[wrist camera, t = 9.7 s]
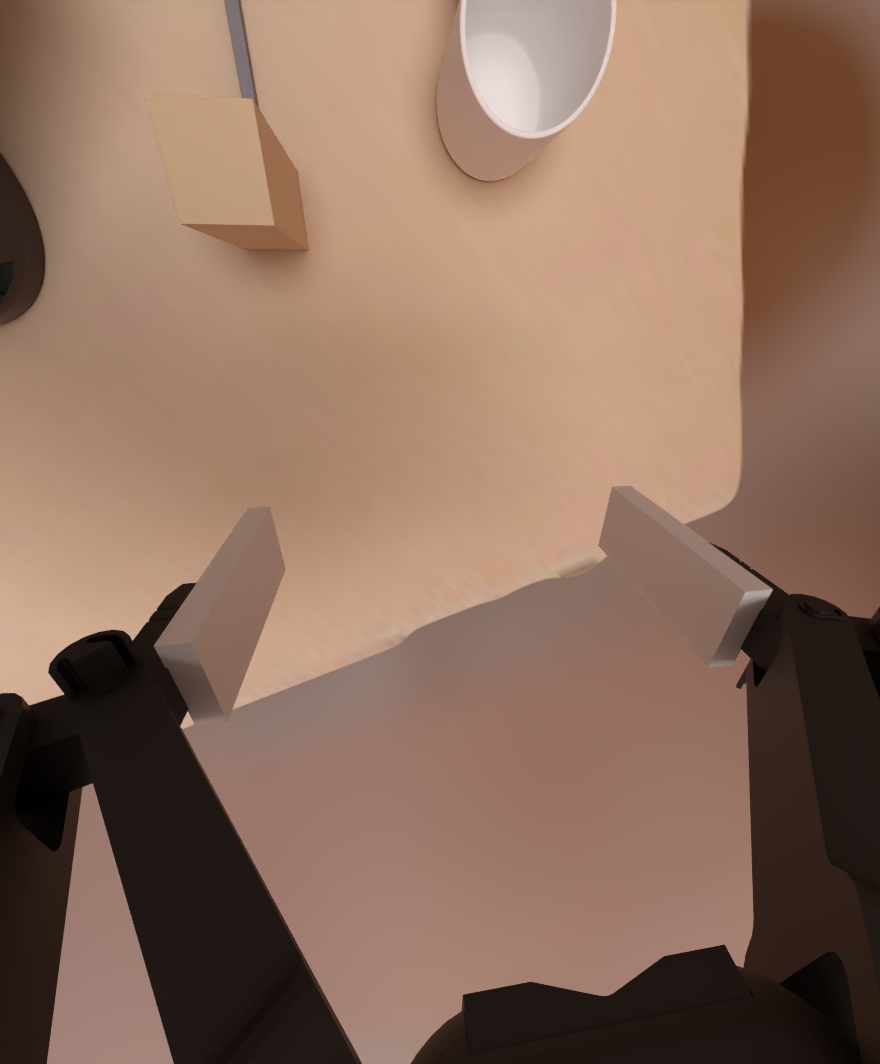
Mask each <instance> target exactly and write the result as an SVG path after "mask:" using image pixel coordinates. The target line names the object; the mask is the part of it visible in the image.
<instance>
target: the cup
mask: <svg viewBox="0 0 880 1064" xmlns="http://www.w3.org/2000/svg"><path fill="white" fill-rule="evenodd" d="M615 23H616V0H459V3H458V7H457V10H456V14H455V18H454V22H453V25H452V29H451V33H450V36H449V40H448V44H447V47H446V51H445V55H444V58H443V62H442V66H441V70H440V75H439V80H438V87H437V117H438V124H439V128H440V132H441V136H442V139H443V142H444V144H445V146H446V149H447V151H448V152H449V154H450V156H451V157H452V159H453V160H454V162H455V163H456V164H457V165H458V166H459V167H460V168H461V169H462V170H463V171H464V172H465V173H467V174H468V175H470V176H472V177H474V178H476V179H479V180H483V181H497V180H501V179H504V178H507V177H509V176H511V175H513V174H514V173H516V172H517V171H519V170H520V169H521V168H522V167H524V166H525V165H526V164H527V163H528V162H529V161H530V160H531V159H533V158H534V157H535V156H536V155H537V154H538V153H539V152H540V151H541V150H542V149H543V148H545V147H546V146H547V145H548V144H549V143H550V142H551V141H552V140H553V139H554V138H555V137H557V136H558V135H559V134H560V133H561V132H562V131H563V130H564V129H565V128H566V127H567V126H568V125H570V124H571V123H572V122H573V121H574V120H575V119H576V118H577V117H578V116H579V115H580V114H581V112H582V111H583V110H584V109H585V107H586V106H587V105H588V103H589V102H590V100H591V99H592V97H593V95H594V94H595V92H596V90H597V88H598V86H599V84H600V82H601V79H602V77H603V75H604V72H605V69H606V66H607V63H608V60H609V56H610V53H611V48H612V44H613V38H614V32H615Z"/></svg>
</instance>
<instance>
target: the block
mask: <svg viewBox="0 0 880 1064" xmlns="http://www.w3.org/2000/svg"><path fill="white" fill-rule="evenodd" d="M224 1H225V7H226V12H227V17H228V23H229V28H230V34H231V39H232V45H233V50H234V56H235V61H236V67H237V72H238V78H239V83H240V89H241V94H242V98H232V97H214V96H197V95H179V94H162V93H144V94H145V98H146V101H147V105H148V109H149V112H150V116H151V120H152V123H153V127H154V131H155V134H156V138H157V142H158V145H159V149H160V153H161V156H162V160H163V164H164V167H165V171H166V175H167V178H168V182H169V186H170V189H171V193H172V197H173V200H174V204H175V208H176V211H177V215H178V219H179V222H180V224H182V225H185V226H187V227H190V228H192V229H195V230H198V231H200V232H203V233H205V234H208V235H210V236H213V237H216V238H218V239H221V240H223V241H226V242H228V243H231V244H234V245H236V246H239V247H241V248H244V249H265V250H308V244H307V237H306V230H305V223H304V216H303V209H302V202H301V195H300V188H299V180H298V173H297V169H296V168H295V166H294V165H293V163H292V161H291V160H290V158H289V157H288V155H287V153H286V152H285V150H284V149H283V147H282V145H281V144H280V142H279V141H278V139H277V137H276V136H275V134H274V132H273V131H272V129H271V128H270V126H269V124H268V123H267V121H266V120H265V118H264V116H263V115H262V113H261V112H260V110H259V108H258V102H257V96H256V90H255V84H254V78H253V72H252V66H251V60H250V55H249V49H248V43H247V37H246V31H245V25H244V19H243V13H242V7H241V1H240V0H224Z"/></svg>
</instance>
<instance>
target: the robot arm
mask: <svg viewBox="0 0 880 1064" xmlns="http://www.w3.org/2000/svg"><path fill="white" fill-rule="evenodd" d="M43 269H44V255H43V246H42V240H41V236H40V232H39V228H38V225H37V222H36V218H35V216H34V213H33V211H32V208H31V206H30V204H29V201H28V199H27V197H26V195H25V193H24V191H23V189H22V187H21V186H20V184H19V182H18V180H17V179H16V177H15V175H14V174H13V172H12V171H11V169H10V168H9V166H8V165H7V163H6V162H5V160H4V159H3V157H2V156H1V155H0V325H1V324H4V323H7V322H9V321H11V320H13V319H15V318H17V317H18V316H20V315H21V314H22V313H23V312H25V311H26V310H27V309H28V308H29V306H30V305H31V304H32V302H33V301H34V299H35V298H36V296H37V294H38V291H39V289H40V286H41V282H42V277H43ZM598 546H599V547H600V548H601V549H602V550H603V551H604V552H605V553H606V555H607V556H608V557H609V558H610V559H611V560H612V561H613V562H614V563H615V564H616V565H617V567H618V568H619V569H620V570H621V571H622V572H623V573H624V575H625V576H626V577H627V578H628V579H629V580H630V581H631V582H632V583H633V585H634V586H635V587H636V588H637V589H638V590H639V591H640V592H641V593H642V594H643V596H644V597H645V598H646V599H647V600H648V601H649V602H650V604H651V605H652V606H653V607H654V608H655V609H656V610H657V611H658V612H659V614H660V615H661V616H662V617H663V618H664V619H665V620H666V621H667V622H668V623H669V625H670V626H671V627H672V628H673V629H674V630H675V631H676V632H677V634H678V635H679V636H680V637H681V638H682V639H683V640H684V641H685V643H686V644H687V645H688V646H689V647H690V648H691V649H692V650H693V651H694V652H695V654H696V655H697V656H698V657H699V658H700V659H701V660H702V661H703V663H704V664H705V665H706V666H707V667H708V668H710V667H719V666H728V665H733V663H734V661H735V660H736V658H737V656H738V654H739V652H740V650H741V649H742V650H743V651H744V652H745V653H746V654H747V655H748V656H749V657H750V658H751V659H750V661H749V663H748V665H747V667H746V668H745V670H744V672H743V674H742V676H741V677H740V679H739V681H738V683H737V686H736V687H737V688H739V689H741V687H742V685H743V684H745V683H747V714H748V715H747V716H748V748H749V777H750V778H749V781H750V814H751V847H752V876H753V877H752V879H753V912H754V922H753V932H752V937H751V940H750V943H749V946H748V949H747V952H746V956H745V962H744V968H742V967H739V966H736V965H735V963H734V961H733V960H732V957H731V956H730V954H729V952H728V950H727V948H726V946H725V945H720V946H715V947H711V948H705V949H700V950H695V951H690V952H684V953H679V954H673V955H668V956H664V957H663V958H661V959H660V960H659V961H657V962H656V963H654V964H653V965H652V966H650V967H649V968H648V969H646V970H645V971H643V972H642V973H641V974H640V975H638V976H637V977H635V978H634V979H632V980H631V981H630V982H628V983H627V984H626V985H624V986H623V987H622V988H620V989H619V990H617V991H616V992H615V993H614V994H611V995H609V996H598V995H593V994H588V993H583V992H578V991H573V990H568V989H563V988H558V987H553V986H549V985H544V984H539V983H534V982H528V983H522V984H517V985H512V986H506V987H501V988H496V989H491V990H485V991H480V992H475V993H470V994H465V995H463V1001H462V1011H461V1012H460V1013H458V1014H457V1015H455V1016H454V1017H453V1018H451V1019H450V1020H448V1021H447V1022H446V1023H444V1024H443V1025H442V1026H441V1027H440V1028H439V1029H438V1030H437V1031H436V1032H435V1033H434V1034H433V1035H432V1036H431V1037H430V1038H429V1039H428V1041H427V1042H426V1043H425V1044H424V1046H423V1047H422V1048H421V1049H420V1051H419V1052H418V1053H417V1055H416V1056H415V1058H414V1059H413V1061H412V1062H411V1064H880V607H879V608H878V610H877V611H876V613H875V614H874V615H873V617H872V618H871V619H868V618H860V617H852V616H848V615H847V614H846V613H845V612H844V611H842V610H841V609H840V608H838V607H837V606H835V605H833V604H831V603H829V602H827V601H825V600H822V599H819V598H816V597H813V596H809V595H803V594H791V595H789V594H787V593H786V592H784V591H783V590H782V589H780V588H779V587H777V586H776V585H775V584H773V583H772V582H770V581H769V580H768V579H766V578H765V577H763V576H762V575H760V574H759V573H758V572H756V571H755V570H753V569H750V567H749V566H748V565H746V564H745V563H744V562H740V560H739V559H738V558H737V557H735V556H734V555H732V554H731V553H730V552H728V551H726V550H724V549H722V548H720V547H718V546H716V545H714V544H711V543H709V542H707V541H706V540H704V539H703V538H701V537H700V536H699V535H698V534H696V533H695V532H693V531H692V530H690V529H689V528H688V527H686V526H685V525H684V524H682V523H681V522H680V521H678V520H677V519H675V518H674V517H673V516H671V515H670V514H669V513H667V512H666V511H664V510H663V509H662V508H660V507H659V506H658V505H656V504H655V503H653V502H652V501H651V500H649V499H648V498H647V497H645V496H644V495H642V494H641V493H640V492H638V491H637V490H635V489H634V488H633V487H631V486H617V487H612V489H611V494H610V498H609V502H608V507H607V511H606V515H605V520H604V524H603V528H602V532H601V537H600V541H599V545H598ZM284 572H285V565H284V561H283V557H282V553H281V549H280V545H279V541H278V537H277V533H276V529H275V525H274V521H273V518H272V514H271V510H270V507H261V508H248V509H247V510H246V512H245V513H244V515H243V516H242V518H241V519H240V520H239V522H238V523H237V525H236V526H235V528H234V529H233V531H232V532H231V534H230V535H229V537H228V538H227V539H226V541H225V542H224V544H223V545H222V547H221V548H220V550H219V551H218V553H217V554H216V556H215V557H214V558H213V560H212V561H211V563H210V564H209V566H208V567H207V569H206V570H205V572H204V573H203V575H202V576H201V577H200V579H199V580H198V582H197V583H189V584H182V585H181V586H179V587H178V588H177V589H175V590H174V591H173V592H171V593H170V594H169V595H167V596H166V598H165V599H164V600H163V602H162V603H161V604H160V606H159V607H158V608H157V611H155V612H154V614H153V615H152V616H151V617H150V619H149V622H147V623H146V624H145V625H144V627H143V628H142V629H141V631H140V632H139V633H138V635H137V636H136V637H135V639H134V640H133V641H132V640H131V638H130V636H129V635H128V634H127V633H125V632H124V631H119V630H109V631H102V632H98V633H95V634H92V635H89V636H86V637H84V638H82V639H80V640H78V641H76V642H74V643H72V644H70V645H69V646H68V647H66V648H65V649H64V650H62V651H61V652H60V653H59V654H57V656H56V657H55V658H54V659H53V661H52V662H51V663H50V666H49V672H48V673H49V674H50V675H51V677H52V678H53V679H54V681H55V682H56V683H57V685H58V686H59V687H60V689H61V690H62V691H63V693H64V694H65V695H62V696H58V697H55V698H52V699H49V700H46V701H42V702H39V703H36V704H33V705H30V706H29V705H28V704H27V703H26V702H25V700H24V699H23V698H22V697H20V696H19V695H17V694H15V693H2V694H0V1064H47V1056H48V1049H49V1042H50V1034H51V1026H52V1018H53V1010H54V1003H55V995H56V986H57V980H58V972H59V964H60V956H61V949H62V941H63V933H64V925H65V917H66V909H67V902H68V894H69V886H70V879H71V871H72V862H73V856H74V848H75V840H76V832H77V824H78V817H79V809H80V802H81V794H82V787H84V786H87V785H89V784H92V783H93V784H94V788H95V792H96V795H97V799H98V802H99V805H100V809H101V812H102V816H103V819H104V823H105V826H106V830H107V833H108V837H109V840H110V843H111V847H112V851H113V854H114V857H115V861H116V864H117V868H118V871H119V875H120V878H121V881H122V885H123V889H124V892H125V896H126V899H127V903H128V906H129V910H130V913H131V916H132V920H133V923H134V927H135V930H136V934H137V937H138V940H139V944H140V947H141V951H142V955H143V958H144V961H145V965H146V968H147V972H148V975H149V979H150V982H151V986H152V989H153V992H154V996H155V999H156V1003H157V1006H158V1010H159V1013H160V1016H161V1020H162V1024H163V1027H164V1031H165V1034H166V1037H167V1041H168V1044H169V1048H170V1052H171V1055H172V1059H173V1062H174V1064H362V1063H361V1061H360V1059H359V1057H358V1055H357V1053H356V1051H355V1050H354V1048H353V1046H352V1044H351V1042H350V1040H349V1038H348V1037H347V1035H346V1033H345V1031H344V1029H343V1028H342V1026H341V1024H340V1022H339V1020H338V1019H337V1017H336V1015H335V1013H334V1011H333V1009H332V1008H331V1006H330V1004H329V1002H328V1000H327V998H326V996H325V995H324V993H323V991H322V989H321V987H320V985H319V984H318V982H317V980H316V978H315V976H314V974H313V972H312V970H311V969H310V967H309V965H308V963H307V961H306V959H305V958H304V956H303V954H302V952H301V950H300V948H299V946H298V944H297V943H296V941H295V939H294V937H293V935H292V933H291V931H290V930H289V928H288V926H287V924H286V922H285V920H284V918H283V916H282V915H281V913H280V911H279V909H278V907H277V905H276V903H275V902H274V900H273V898H272V896H271V894H270V892H269V890H268V889H267V887H266V885H265V883H264V881H263V879H262V878H261V876H260V874H259V872H258V870H257V868H256V866H255V864H254V863H253V861H252V859H251V857H250V855H249V853H248V851H247V850H246V848H245V846H244V844H243V842H242V840H241V838H240V837H239V835H238V833H237V831H236V829H235V827H234V825H233V824H232V822H231V820H230V818H229V816H228V815H227V812H226V811H225V809H224V807H223V805H222V803H221V801H220V799H219V798H218V796H217V794H216V792H215V790H214V788H213V786H212V784H211V783H210V781H209V779H208V777H207V775H206V773H205V771H204V770H203V768H202V766H201V764H200V762H199V760H198V758H197V757H196V755H195V753H194V751H193V749H192V747H191V746H190V744H189V742H188V740H187V738H186V736H185V734H184V732H183V731H182V729H181V727H180V725H181V723H182V721H183V719H184V717H185V715H186V713H187V711H188V712H189V714H190V716H191V718H192V720H193V722H194V724H195V725H201V724H210V723H219V722H227V721H228V719H229V716H230V714H231V711H232V708H233V706H234V703H235V700H236V698H237V695H238V693H239V690H240V687H241V685H242V682H243V679H244V677H245V674H246V672H247V669H248V666H249V664H250V661H251V658H252V656H253V653H254V651H255V648H256V645H257V643H258V640H259V637H260V635H261V632H262V630H263V627H264V624H265V622H266V619H267V616H268V614H269V611H270V609H271V606H272V603H273V601H274V598H275V595H276V593H277V590H278V588H279V585H280V582H281V580H282V577H283V574H284Z"/></svg>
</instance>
